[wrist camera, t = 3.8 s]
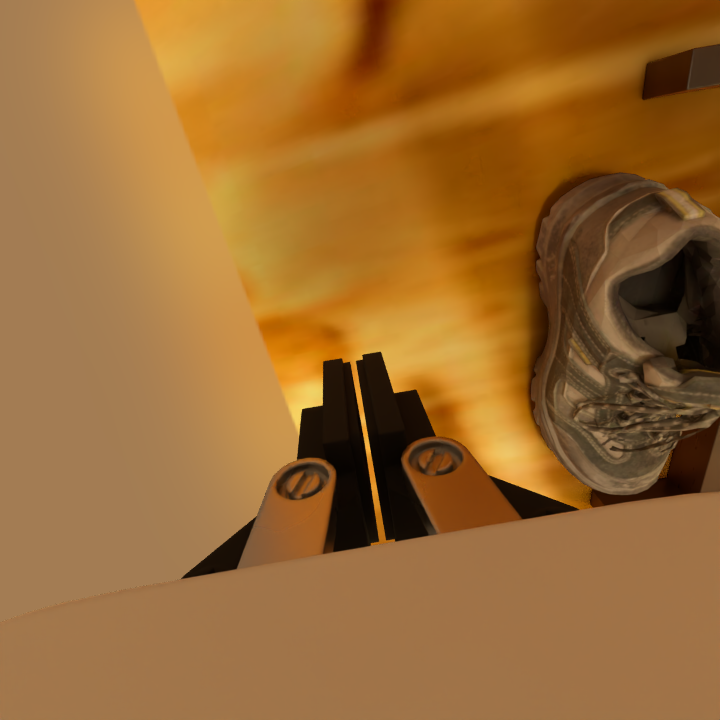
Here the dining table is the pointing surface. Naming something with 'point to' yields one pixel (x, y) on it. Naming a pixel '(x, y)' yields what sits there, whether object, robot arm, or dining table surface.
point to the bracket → (716, 443)
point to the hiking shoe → (627, 328)
